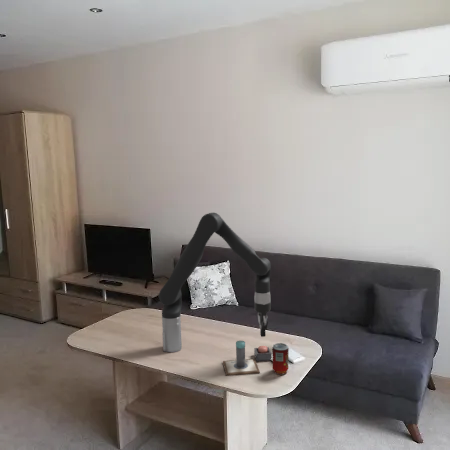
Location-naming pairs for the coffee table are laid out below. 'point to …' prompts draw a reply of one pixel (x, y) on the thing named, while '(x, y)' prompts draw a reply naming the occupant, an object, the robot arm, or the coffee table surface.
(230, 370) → the board
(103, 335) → the coffee table surface
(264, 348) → the button
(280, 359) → the soda can
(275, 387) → the coffee table surface
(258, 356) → the button housing
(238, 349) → the marker
